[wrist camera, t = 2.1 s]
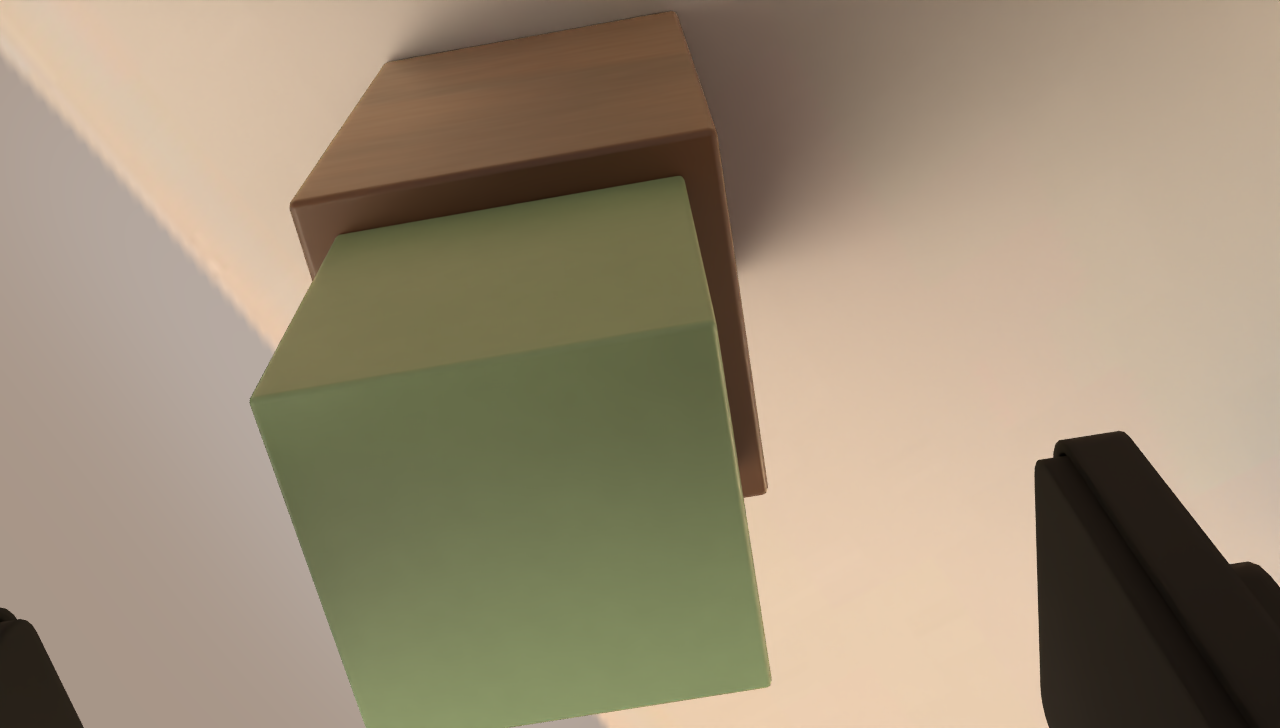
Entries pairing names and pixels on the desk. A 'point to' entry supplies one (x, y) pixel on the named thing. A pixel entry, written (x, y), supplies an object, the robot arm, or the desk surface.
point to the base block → (540, 155)
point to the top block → (519, 464)
